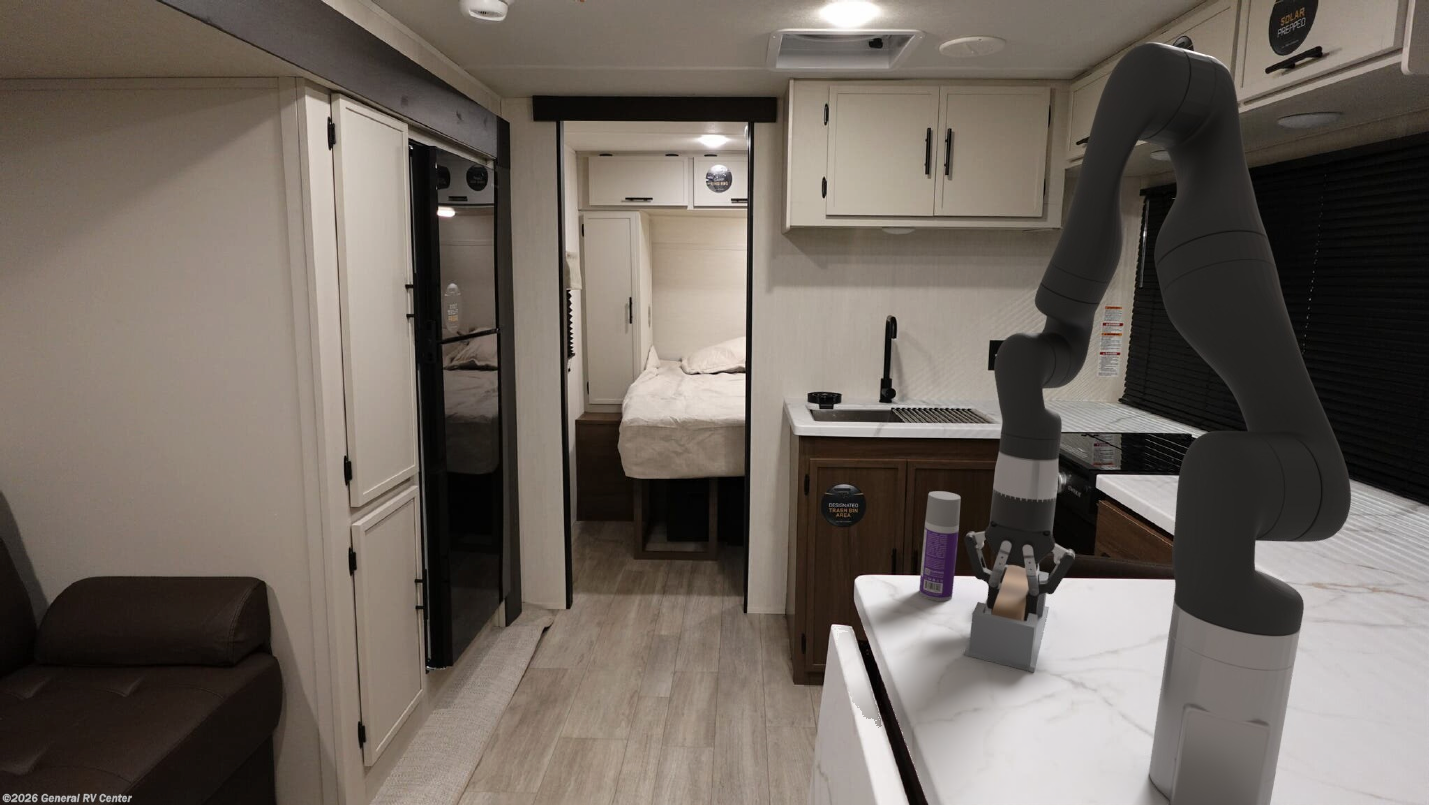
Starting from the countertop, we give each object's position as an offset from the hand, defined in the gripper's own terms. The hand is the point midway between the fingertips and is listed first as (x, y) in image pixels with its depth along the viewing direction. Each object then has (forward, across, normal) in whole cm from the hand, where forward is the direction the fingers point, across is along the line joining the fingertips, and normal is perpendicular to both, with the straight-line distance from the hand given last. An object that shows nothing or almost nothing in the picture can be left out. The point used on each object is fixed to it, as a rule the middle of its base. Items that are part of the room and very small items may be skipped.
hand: (1011, 615), depth 100 cm
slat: (+1, 0, +1) cm, 1 cm away
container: (+2, -11, +7) cm, 13 cm away
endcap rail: (+2, 0, 0) cm, 2 cm away
